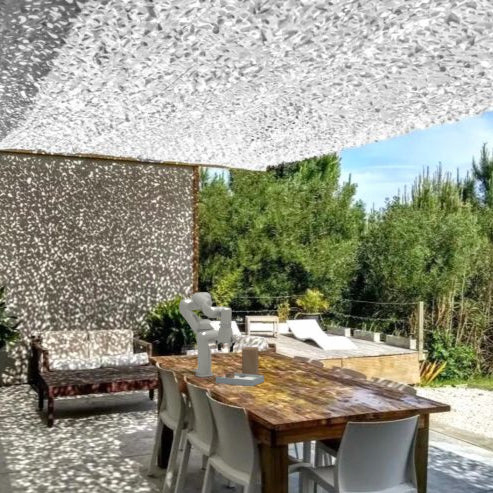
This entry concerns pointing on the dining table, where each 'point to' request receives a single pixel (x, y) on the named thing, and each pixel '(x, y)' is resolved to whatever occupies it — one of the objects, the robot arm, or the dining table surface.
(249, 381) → the trap box
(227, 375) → the walnut block
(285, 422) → the dining table surface
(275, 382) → the dining table surface
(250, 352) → the block
